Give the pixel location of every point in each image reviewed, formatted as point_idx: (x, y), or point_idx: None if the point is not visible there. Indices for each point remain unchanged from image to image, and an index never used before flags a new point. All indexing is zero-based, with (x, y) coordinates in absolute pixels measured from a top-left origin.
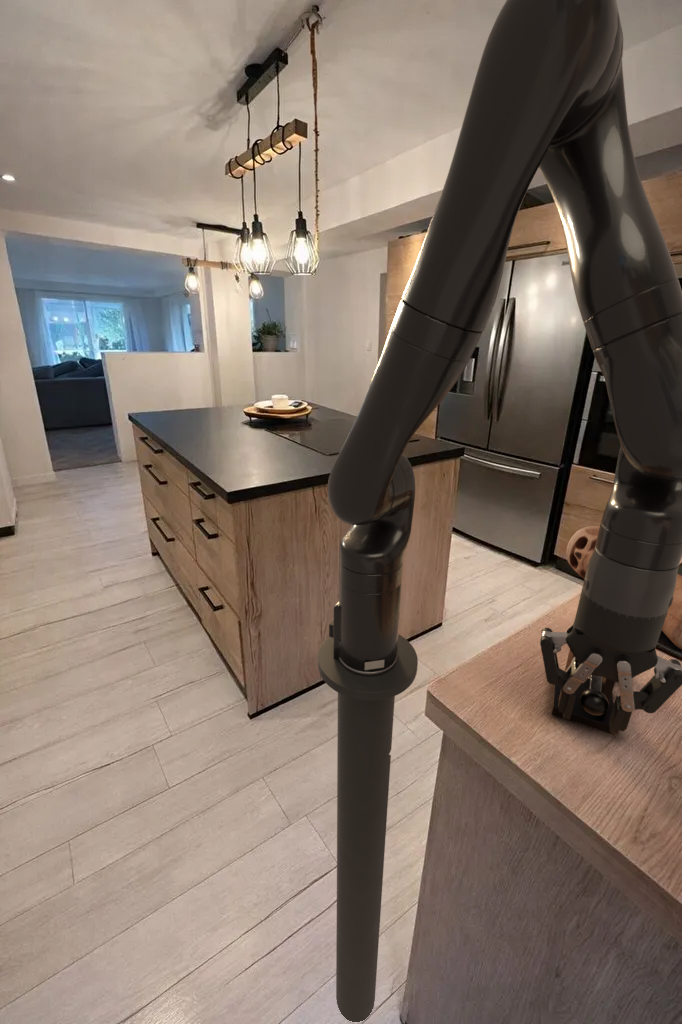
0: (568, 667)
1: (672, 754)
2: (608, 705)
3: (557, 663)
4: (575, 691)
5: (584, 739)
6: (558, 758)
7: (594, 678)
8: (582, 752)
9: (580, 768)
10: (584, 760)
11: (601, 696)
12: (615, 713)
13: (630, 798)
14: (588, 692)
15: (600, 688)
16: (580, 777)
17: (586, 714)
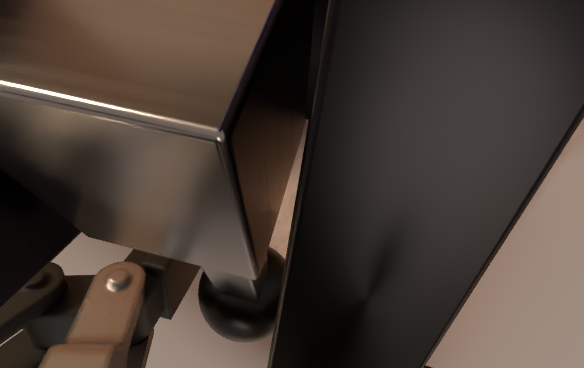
0: (74, 322)
1: (558, 158)
2: None
3: (16, 330)
4: (167, 302)
5: (302, 157)
6: None
7: (223, 282)
8: (290, 195)
9: (279, 233)
10: (291, 214)
11: (249, 339)
12: None
13: None
14: (205, 319)
15: (253, 300)
16: (276, 250)
17: (308, 104)
